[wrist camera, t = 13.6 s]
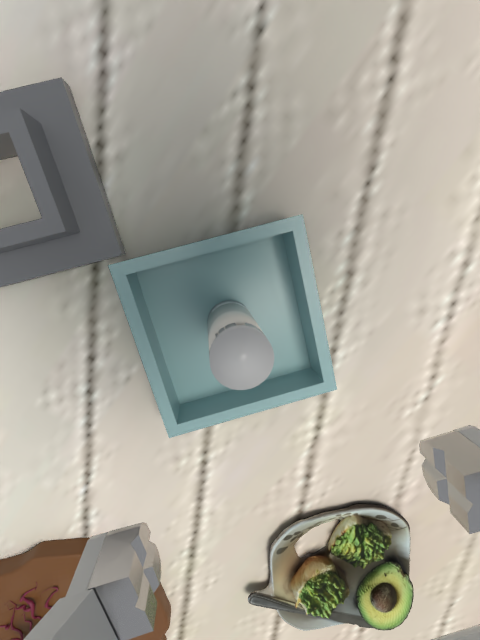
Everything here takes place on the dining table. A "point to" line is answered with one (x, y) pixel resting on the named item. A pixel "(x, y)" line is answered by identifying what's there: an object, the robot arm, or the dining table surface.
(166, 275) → the parts tray
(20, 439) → the dining table surface
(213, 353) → the cylinder
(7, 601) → the plant
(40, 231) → the grey square socket
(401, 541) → the salad plate
